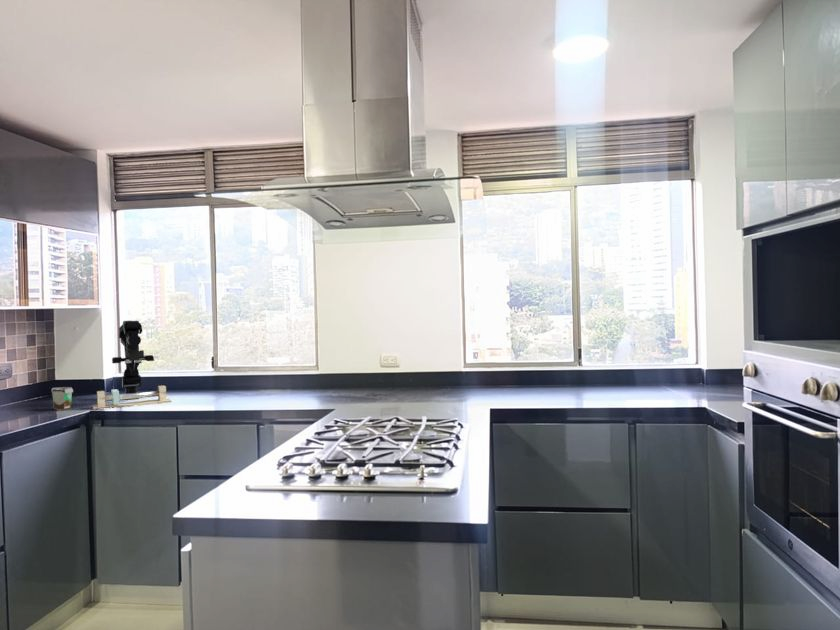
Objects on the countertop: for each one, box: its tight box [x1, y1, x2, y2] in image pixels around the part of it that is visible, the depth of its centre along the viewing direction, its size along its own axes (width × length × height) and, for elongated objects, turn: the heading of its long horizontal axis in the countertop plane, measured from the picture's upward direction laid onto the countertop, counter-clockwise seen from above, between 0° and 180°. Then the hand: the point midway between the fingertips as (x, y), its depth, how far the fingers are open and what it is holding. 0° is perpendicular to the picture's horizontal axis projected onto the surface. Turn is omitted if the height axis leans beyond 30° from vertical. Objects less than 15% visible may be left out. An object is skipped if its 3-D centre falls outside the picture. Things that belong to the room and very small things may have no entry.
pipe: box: [96, 390, 159, 403], centre depth 286 cm, size 3×30×3 cm, turn 122°
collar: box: [110, 389, 120, 405], centre depth 284 cm, size 11×2×6 cm, turn 32°
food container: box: [51, 386, 74, 411], centre depth 280 cm, size 12×6×10 cm, turn 59°
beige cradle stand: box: [91, 385, 172, 410], centre depth 286 cm, size 10×34×8 cm, turn 122°
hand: (133, 376), depth 296 cm, fingers closed
